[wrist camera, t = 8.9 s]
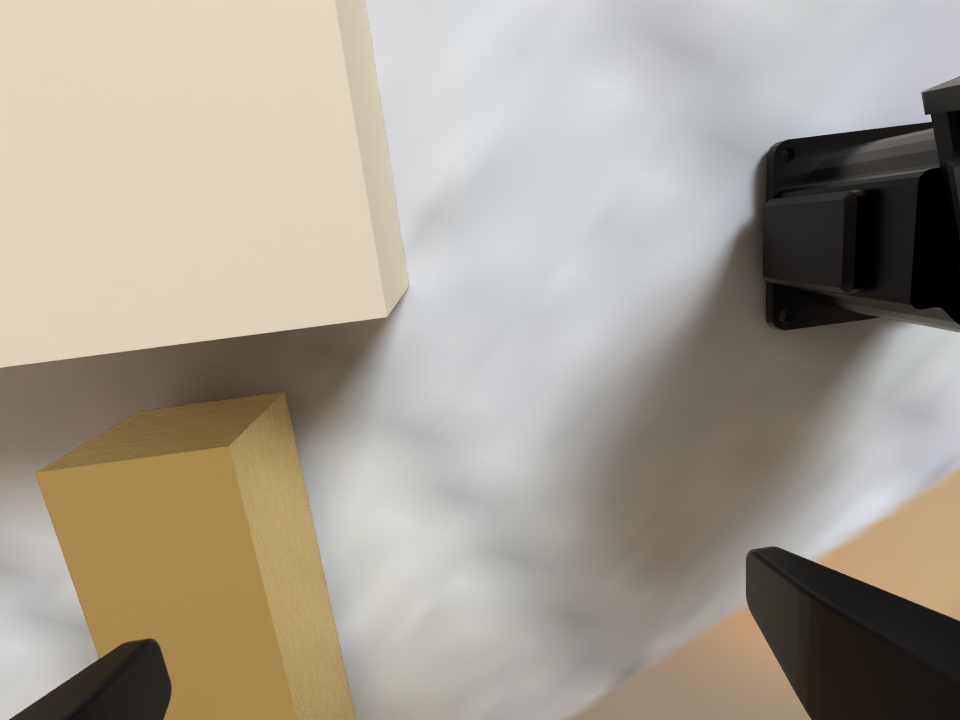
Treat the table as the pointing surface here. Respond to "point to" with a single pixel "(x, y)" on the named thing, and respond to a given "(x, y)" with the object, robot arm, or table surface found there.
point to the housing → (189, 174)
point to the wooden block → (205, 558)
